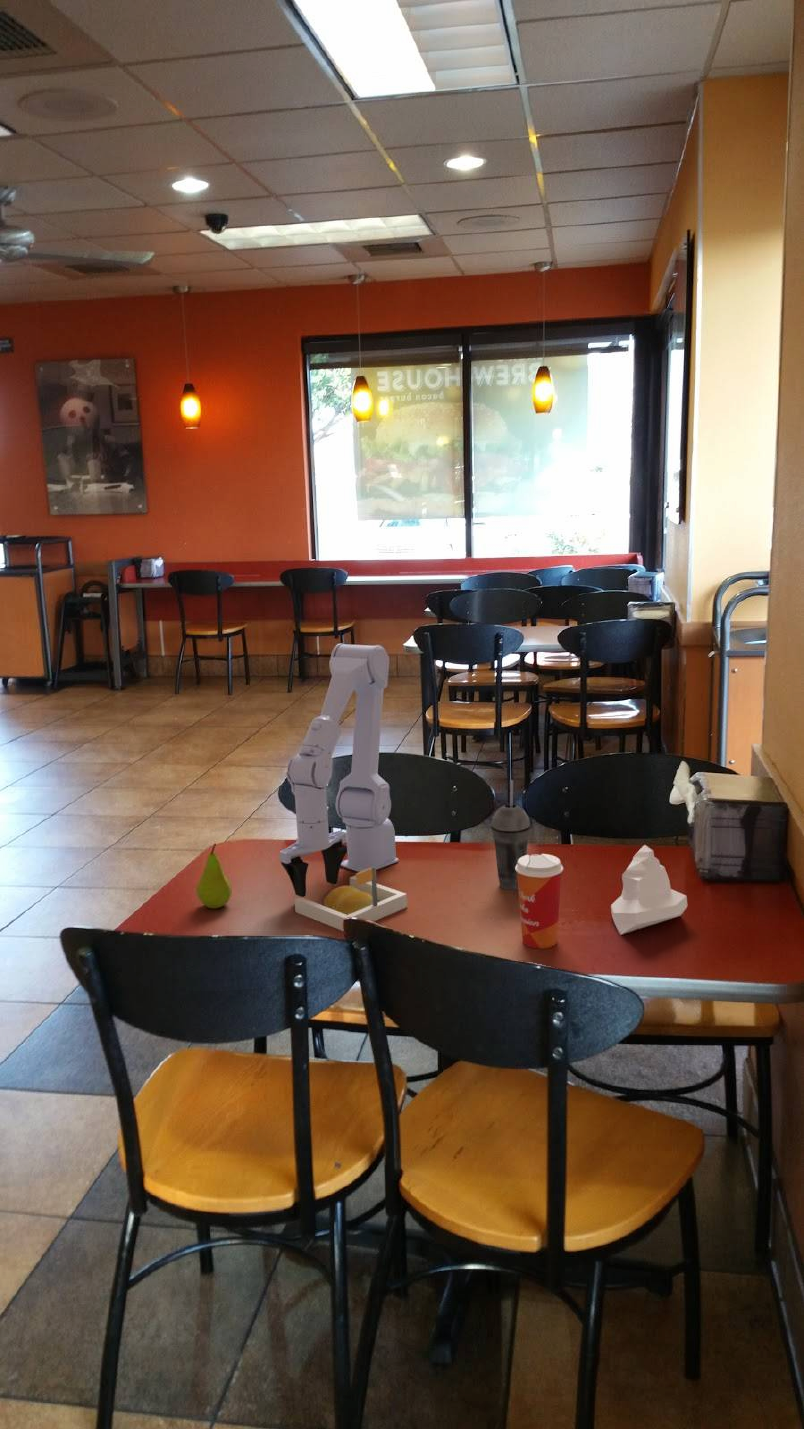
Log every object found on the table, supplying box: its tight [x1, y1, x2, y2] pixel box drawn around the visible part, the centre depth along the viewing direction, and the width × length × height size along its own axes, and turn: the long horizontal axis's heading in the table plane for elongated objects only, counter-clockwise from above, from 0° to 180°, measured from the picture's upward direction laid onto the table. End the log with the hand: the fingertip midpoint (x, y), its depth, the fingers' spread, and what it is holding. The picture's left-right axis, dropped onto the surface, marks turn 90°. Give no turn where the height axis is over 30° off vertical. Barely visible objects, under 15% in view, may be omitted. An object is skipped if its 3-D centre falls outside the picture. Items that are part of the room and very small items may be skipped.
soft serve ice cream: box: [610, 844, 688, 936], centre depth 179 cm, size 12×15×14 cm
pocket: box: [294, 866, 408, 932], centre depth 189 cm, size 14×14×10 cm
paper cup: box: [515, 853, 564, 950], centre depth 173 cm, size 8×8×14 cm
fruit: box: [196, 843, 232, 909], centre depth 193 cm, size 6×6×12 cm
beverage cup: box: [490, 779, 532, 891], centre depth 196 cm, size 7×7×20 cm
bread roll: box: [323, 885, 373, 915], centre depth 190 cm, size 8×9×4 cm
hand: (316, 889), depth 196 cm, fingers open, 7 cm apart
